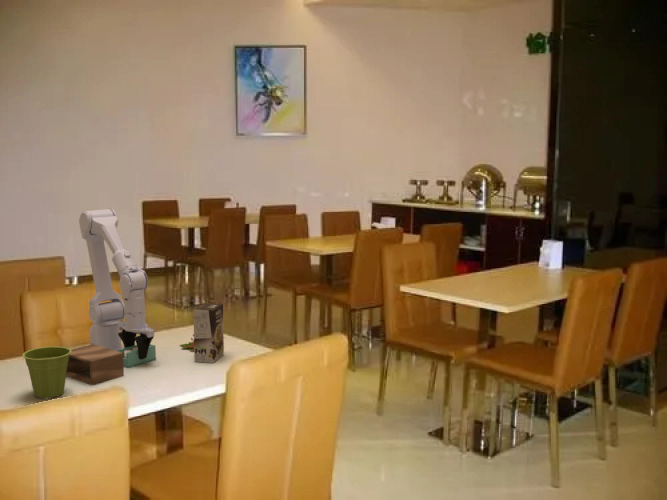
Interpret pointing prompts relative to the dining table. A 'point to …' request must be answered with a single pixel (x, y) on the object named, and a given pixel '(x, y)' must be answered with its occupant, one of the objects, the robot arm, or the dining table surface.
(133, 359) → the tray
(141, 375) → the dining table surface
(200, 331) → the coffee box
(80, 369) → the wooden crate box
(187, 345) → the red green leafy plant
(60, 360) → the plant pot
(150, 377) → the dining table surface
